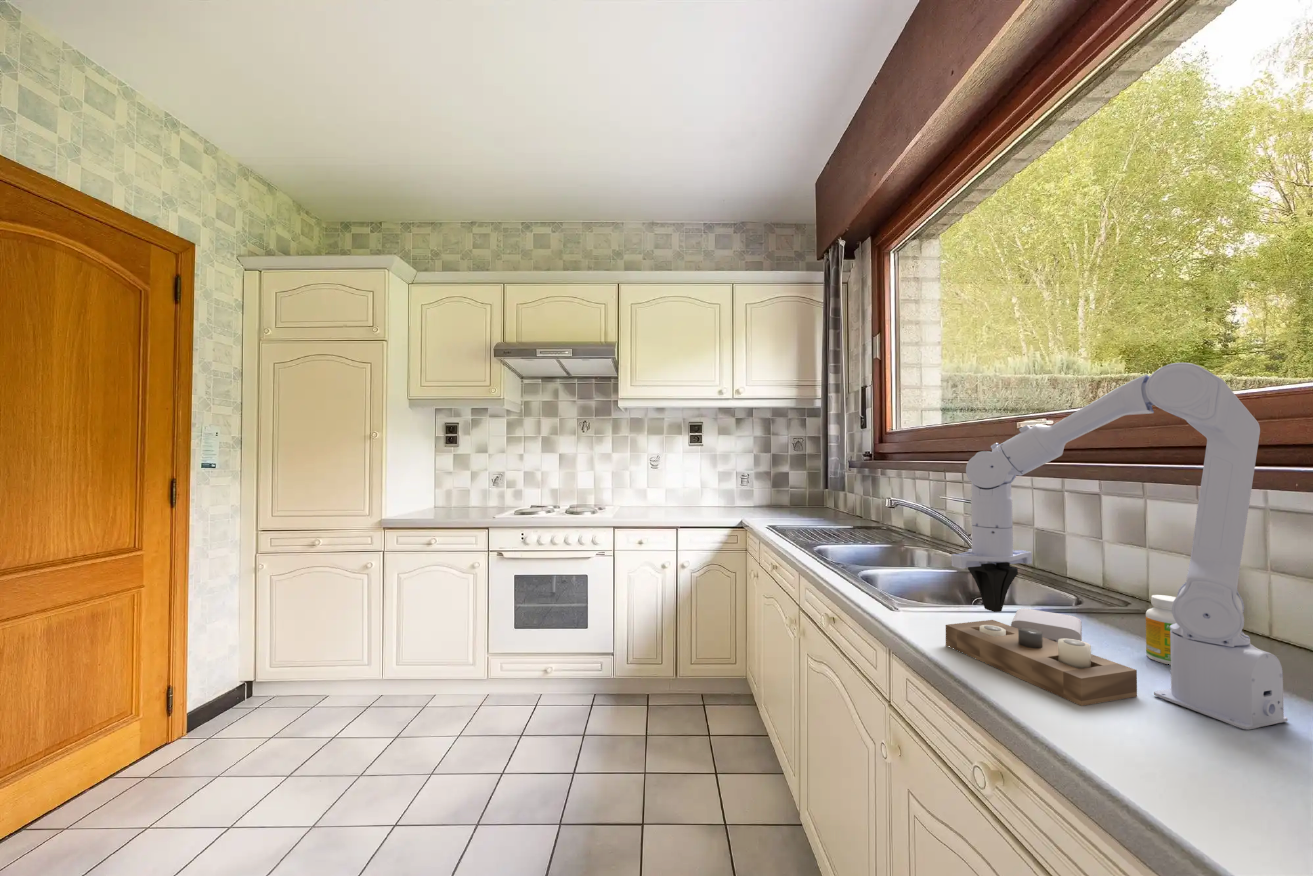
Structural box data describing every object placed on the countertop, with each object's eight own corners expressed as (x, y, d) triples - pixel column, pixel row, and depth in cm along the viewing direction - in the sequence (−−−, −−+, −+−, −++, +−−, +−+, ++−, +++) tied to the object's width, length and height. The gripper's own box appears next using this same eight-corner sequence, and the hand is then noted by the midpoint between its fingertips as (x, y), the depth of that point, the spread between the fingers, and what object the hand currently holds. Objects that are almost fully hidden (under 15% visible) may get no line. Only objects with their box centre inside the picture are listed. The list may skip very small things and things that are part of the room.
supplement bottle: (1164, 666, 82) (1163, 602, 82) (1137, 653, 88) (1136, 593, 88) (1203, 668, 82) (1202, 603, 82) (1173, 654, 87) (1173, 594, 87)
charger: (1082, 635, 97) (1081, 660, 85) (1020, 624, 102) (1011, 647, 91) (1082, 608, 97) (1080, 630, 85) (1020, 599, 102) (1010, 618, 91)
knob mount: (1137, 696, 72) (1136, 669, 72) (1081, 705, 69) (1081, 678, 69) (992, 640, 93) (992, 619, 93) (945, 645, 90) (945, 624, 91)
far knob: (1011, 650, 86) (1011, 630, 86) (993, 653, 85) (993, 632, 85) (991, 642, 90) (991, 623, 90) (974, 645, 89) (974, 625, 89)
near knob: (1097, 669, 74) (1097, 645, 74) (1078, 672, 73) (1077, 648, 73) (1070, 659, 77) (1070, 636, 77) (1051, 661, 76) (1051, 639, 76)
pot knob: (1047, 647, 80) (1047, 633, 80) (1032, 649, 80) (1031, 635, 80) (1028, 640, 83) (1028, 627, 83) (1013, 642, 82) (1013, 629, 82)
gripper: (1004, 521, 94) (1005, 600, 94) (936, 524, 90) (937, 606, 89) (1043, 526, 87) (1045, 611, 87) (971, 530, 83) (973, 619, 83)
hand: (992, 610), depth 88 cm, fingers closed
